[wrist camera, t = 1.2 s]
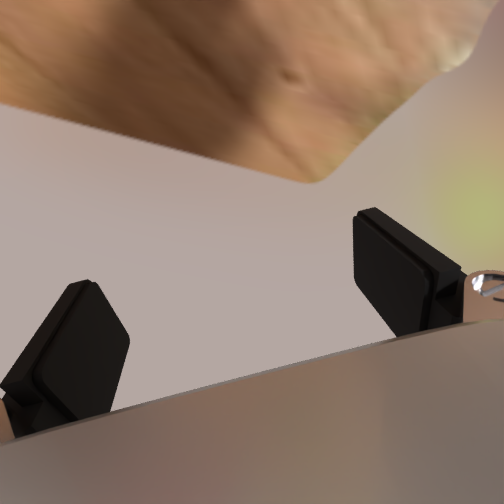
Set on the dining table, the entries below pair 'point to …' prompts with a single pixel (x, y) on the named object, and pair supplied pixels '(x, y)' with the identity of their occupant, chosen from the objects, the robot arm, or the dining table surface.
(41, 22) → the dining table surface
